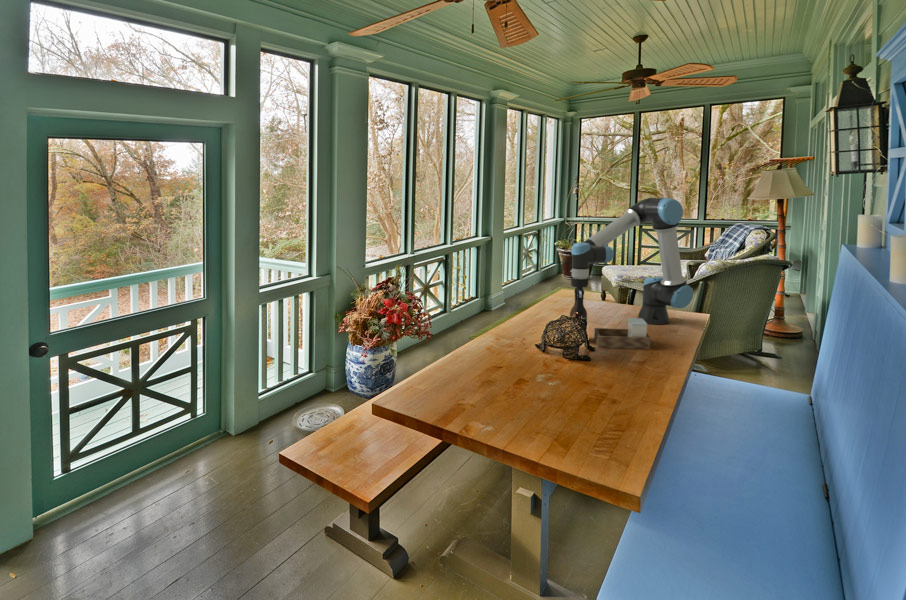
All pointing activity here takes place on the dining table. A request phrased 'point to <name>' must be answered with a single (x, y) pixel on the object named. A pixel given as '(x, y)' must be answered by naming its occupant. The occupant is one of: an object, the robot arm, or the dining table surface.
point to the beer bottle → (574, 309)
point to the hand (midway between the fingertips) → (577, 326)
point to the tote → (619, 339)
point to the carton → (637, 327)
